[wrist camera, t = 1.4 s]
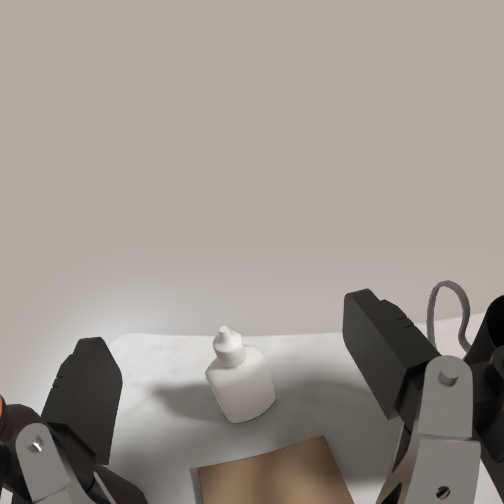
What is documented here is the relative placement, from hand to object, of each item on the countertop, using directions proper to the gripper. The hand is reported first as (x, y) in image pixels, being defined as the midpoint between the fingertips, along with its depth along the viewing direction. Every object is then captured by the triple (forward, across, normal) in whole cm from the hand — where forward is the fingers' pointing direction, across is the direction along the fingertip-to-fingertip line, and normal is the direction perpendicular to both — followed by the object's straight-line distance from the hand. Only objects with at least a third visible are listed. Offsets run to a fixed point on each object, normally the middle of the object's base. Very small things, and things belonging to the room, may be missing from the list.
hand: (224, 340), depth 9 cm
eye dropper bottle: (+12, 0, +20) cm, 23 cm away
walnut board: (+1, 0, +21) cm, 21 cm away
